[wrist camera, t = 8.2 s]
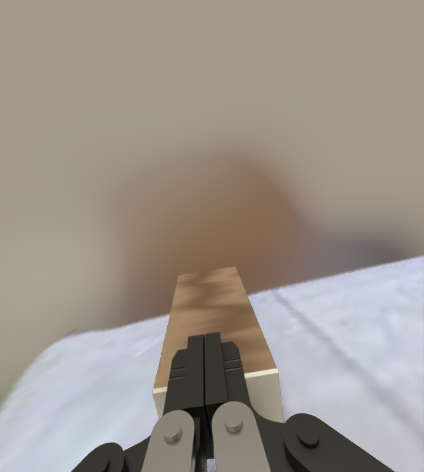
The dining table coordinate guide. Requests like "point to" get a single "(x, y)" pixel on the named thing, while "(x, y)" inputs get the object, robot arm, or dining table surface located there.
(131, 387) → the dining table surface
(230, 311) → the walnut block
